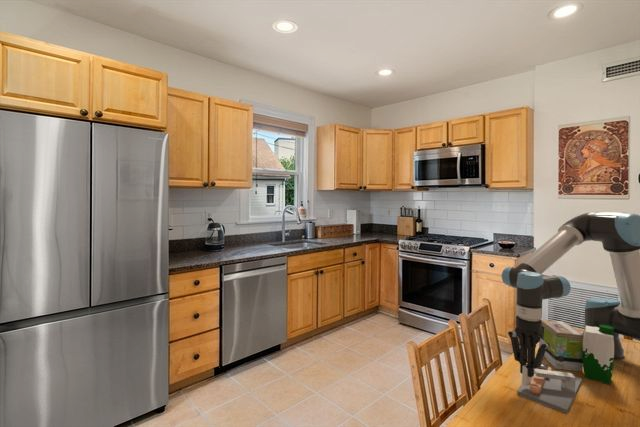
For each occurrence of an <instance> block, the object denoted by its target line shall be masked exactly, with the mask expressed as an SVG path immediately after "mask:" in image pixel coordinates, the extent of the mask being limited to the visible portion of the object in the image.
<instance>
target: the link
mask: <svg viewBox="0 0 640 427" xmlns="http://www.w3.org/2000/svg"><path fill="white" fill-rule="evenodd" d="M536 369H540V368H536ZM551 369H552V367H550V366H548V369H544V370H550V371H551ZM542 370H543V369H542ZM544 381H545V378H544V377H537V376H536V375H535V373H534V376H533V378H532V381H531V383H530V392H531V393H533V394H536V395H539V394H540V392H541V389H542V387H543V384H544Z"/></svg>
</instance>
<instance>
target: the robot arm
mask: <svg viewBox="0 0 640 427" xmlns="http://www.w3.org/2000/svg"><path fill="white" fill-rule="evenodd" d="M587 241H593V242H601V244H602V248H603V250H604V251H606V252H608V253H609V256H610V259H611V266H612V269H613V273H614V278H615V282H616V286H617V291H618V295H619V300H618V299H615V298H606V297H591V298H588V299H586V300H585V303H584V304H585V305H584V330H583V332H582V334H583V335H584V332H585V327H586V326H591V327H598V328H599V326H600V325H608V326H611V327H613V328H614V360H615V359H616V360H617V359H623V358H624V355H625V354H624V353H625V351H624V348H623V346H622V342H621V339H620V335H621V336H624V337H626V338H629V339H633V340H635V341H639V342H640V215H639V214H637V213H629V212H604V211H603V212H601V211H591V212H585V213H582V214H579V215H576V216H574V217H573V218H571V219H569V220H568V221H566V222H564V223H563V224H562V225H561V226H560V227H559V228H558V229H557V232H556V234H554V235H552V236H551V237H550V238H549V239H548V240H547V241H546V242H545V243H544V244H542V245H541V246H540V247H538V249H536V250H535V251H534V252H533V253H532V254H530V255H529V256H528V257H527V258H526V259H524V260H523V261H522V262H520V263H519V264H518V265H517V266H516V267H514V266H508V267H505V268H504V269H503V271H502V272H501V280H502V282H503V283H504V284H505V285H506V286H509V287H511V288H514V289H516V307H515V313H516V316H515V329H514V330H509V331H508V332H507V333H508V334H507V335H508V336H509V338H510V342H511V347H512V353H513V357H514V360H515V361H516V362H518V363H519V372H520V374H521V376H522V377H521V385H522V384H523V385H525V386H528V385H530V383H531V377H533V375H534V369H536V368H539V367H540V366H541V363H543V359H544V358H545V357H544V354H545V351H546V349H547V348H548V347H549V346H550V345H549V343H545V342H544V341H543V340H542V336H541V327H542V321H541V320H543V301H544V300H548V299H559V298H562V297H566V296H568V295H569V294H570V293H571V290H572V289H571V288H572V287H571V286H572V285H571V284H570V282H569V281H570V280H568V279H567V278H566V277H564V276H562V275H555V274H552V275H548V274H547V275H546V274H543V273H544V272H547V270H548V269H549V268H551V267H552V266H553V265H554V264H555V263H556V262H558V260H560V259H561V258H562V257H563V256H564V255H566V253H568V252H569V251H571V249H572V248H574V247H575V246H580V245H582V244H583V243H584V242H587ZM537 344H538V349H537V351H536V348H537Z"/></svg>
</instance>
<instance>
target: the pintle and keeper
mask: <svg viewBox="0 0 640 427" xmlns="http://www.w3.org/2000/svg"><path fill="white" fill-rule="evenodd" d="M548 367H549V365H548V364H546V363H544V362H542V363H541V366H540V367H539V368H540V369H534V373H535V375H536V376H537V377H544V378H551V379H559V380H561V387H562V388H563V390H564V391H567V392H575V377H574V376H575V375H574V374H573V373H572V372H565V371H560V372H558V371H559V370H556V371H550V370H544V369H548ZM542 369H543V370H542Z"/></svg>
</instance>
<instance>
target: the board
mask: <svg viewBox="0 0 640 427" xmlns="http://www.w3.org/2000/svg"><path fill="white" fill-rule="evenodd" d="M551 371H558V372H561V371H560V370H556V369H553V368H551ZM533 376H534V375H533ZM574 377H575V392H567V391H564V390H563V388H562V387H561V380H559V379H551V378H545V381H544V384H543V387H542V389H541V392H540V394H539V395H536V394H533V393H531V392H530V385H528V386H525V385H523V384H522V383H521V386H519V388H518V390H517V391H516V394H517V395H518V396H521V397H523V398H526V399H528V400H531V401H533V402H536V403H539V404H540V405H541V404H542V405H544V406H546V407H548V408H552V409H555V410H557V411H560V412H562V413H565V414H568V413H569V410H570V409H571V406H572V404H573V402H574V400H575V398H576V395H577V393H578V391H579V389H580V387H581V385H582V383H583V377H582V378H581V377H578V376H575V375H574ZM532 378H533V377H531V381H532Z"/></svg>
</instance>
